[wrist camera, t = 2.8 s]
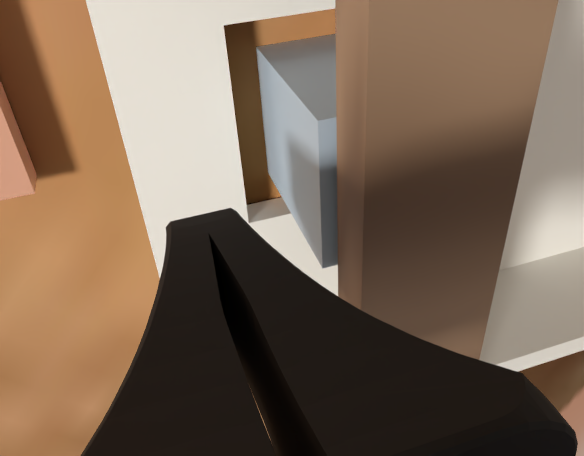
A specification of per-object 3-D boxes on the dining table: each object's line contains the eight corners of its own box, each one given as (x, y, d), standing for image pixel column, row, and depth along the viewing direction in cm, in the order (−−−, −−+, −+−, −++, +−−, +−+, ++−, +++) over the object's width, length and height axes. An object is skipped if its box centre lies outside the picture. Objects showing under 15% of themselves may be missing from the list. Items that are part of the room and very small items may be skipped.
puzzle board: (583, 243, 25) (678, 320, 21) (181, 355, 21) (206, 475, 17) (767, -318, 14) (1034, -374, 10) (8, -301, 10) (-33, -382, 6)
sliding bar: (438, 404, 18) (461, 440, 17) (339, 436, 18) (357, 476, 16) (565, -364, 8) (645, -395, 7) (332, -363, 7) (379, -397, 6)
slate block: (383, 147, 18) (465, 231, 15) (267, 171, 18) (322, 268, 14) (388, 24, 16) (489, 87, 12) (255, 46, 15) (317, 120, 11)
